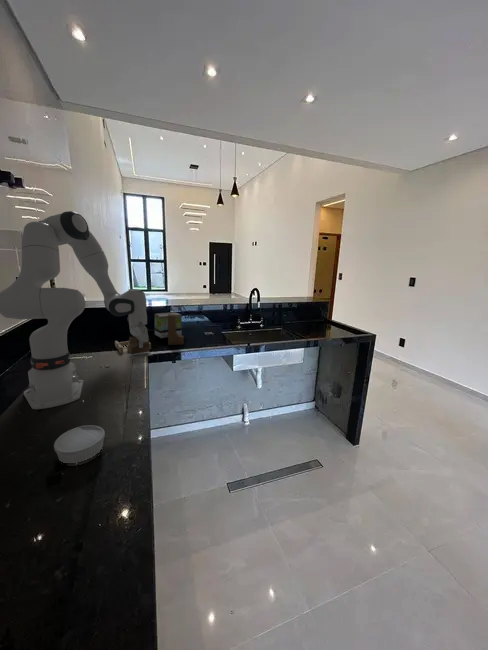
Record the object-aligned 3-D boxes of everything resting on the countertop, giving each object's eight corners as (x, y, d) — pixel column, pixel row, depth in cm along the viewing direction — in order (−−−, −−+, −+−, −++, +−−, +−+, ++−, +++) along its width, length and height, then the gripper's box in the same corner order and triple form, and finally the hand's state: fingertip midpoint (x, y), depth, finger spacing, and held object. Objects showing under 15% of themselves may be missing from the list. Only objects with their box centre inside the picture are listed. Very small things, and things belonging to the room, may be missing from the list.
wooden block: (183, 342, 167) (183, 314, 163) (183, 344, 163) (183, 315, 158) (168, 343, 165) (167, 314, 160) (168, 345, 160) (167, 315, 156)
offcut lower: (144, 350, 149) (144, 346, 148) (129, 352, 144) (129, 348, 144) (142, 348, 152) (141, 344, 152) (127, 350, 148) (127, 346, 147)
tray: (151, 349, 152) (150, 343, 151) (120, 354, 143) (120, 347, 142) (143, 342, 164) (142, 336, 163) (114, 346, 155) (114, 340, 154)
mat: (152, 355, 143) (152, 354, 143) (131, 359, 136) (131, 358, 136) (148, 351, 149) (148, 350, 149) (127, 354, 142) (127, 353, 142)
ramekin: (113, 441, 76) (111, 424, 75) (93, 471, 66) (91, 452, 64) (73, 440, 76) (71, 424, 75) (46, 470, 65) (43, 452, 64)
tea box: (161, 338, 172) (160, 316, 169) (154, 335, 180) (153, 313, 176) (182, 335, 182) (181, 314, 179) (175, 332, 189) (174, 311, 186)
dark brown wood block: (149, 351, 143) (148, 336, 141) (131, 354, 138) (130, 338, 136) (147, 349, 146) (146, 334, 144) (129, 352, 141) (129, 336, 139)
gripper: (150, 324, 132) (151, 350, 135) (138, 316, 148) (139, 340, 151) (137, 325, 128) (138, 352, 131) (126, 317, 144) (128, 341, 147)
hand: (139, 346), depth 141 cm, fingers closed on dark brown wood block, 3 cm apart
